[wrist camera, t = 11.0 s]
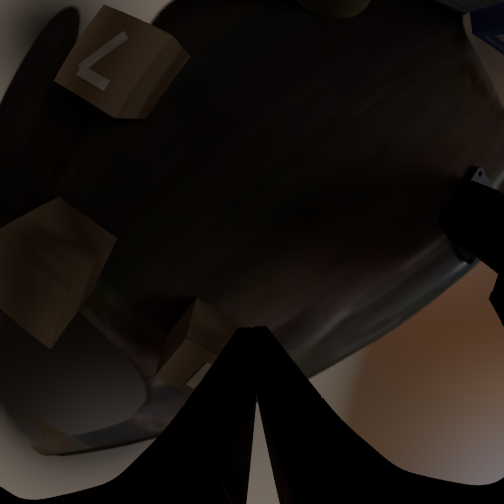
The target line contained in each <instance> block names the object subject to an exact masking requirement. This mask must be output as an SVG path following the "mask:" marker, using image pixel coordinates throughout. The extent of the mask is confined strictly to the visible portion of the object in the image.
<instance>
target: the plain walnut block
mask: <svg viewBox="0 0 504 504" xmlns="http://www.w3.org/2000/svg"><path fill="white" fill-rule="evenodd" d="M116 240H117V238H116V237H115V236H113V235H112V234H110V233H109V232H107V231H106V230H104V229H103V228H102V227H100V226H99V225H97V224H96V223H95V222H93V221H92V220H90V219H89V218H88V217H86V216H85V215H84V214H82V213H81V212H79V211H78V210H77V209H75V208H74V207H73V206H71V205H70V204H69V203H67V202H66V201H65V200H63V199H62V198H61V197H58V198H56V199H54V200H52V201H50V202H48V203H46V204H44V205H42V206H40V207H38V208H36V209H34V210H32V211H30V212H28V213H27V214H25V215H23V216H21V217H19V218H17V219H16V220H14V221H12V222H10V223H9V224H7V225H5V226H4V227H2V228H0V309H2V310H3V311H4V312H5V313H6V314H7V315H8V316H9V317H11V318H12V319H13V320H14V321H15V322H17V323H18V324H19V325H20V326H21V327H22V328H24V329H25V330H26V331H27V332H29V333H30V334H31V335H32V336H34V337H35V338H36V339H38V340H39V341H40V342H42V343H43V344H44V345H45V346H47V347H48V348H50V349H51V348H52V346H53V345H54V343H55V342H56V340H57V339H58V338H59V336H60V335H61V333H62V332H63V330H64V329H65V328H66V326H67V325H68V324H69V322H70V321H71V320H72V318H73V317H74V316H75V314H76V313H77V312H78V310H79V309H80V308H81V306H82V305H83V304H84V302H85V301H86V300H87V298H88V297H89V296H90V295H91V293H92V292H93V289H94V287H95V285H96V283H97V280H98V278H99V276H100V274H101V271H102V269H103V267H104V265H105V263H106V261H107V258H108V256H109V254H110V252H111V250H112V248H113V246H114V244H115V242H116Z"/></svg>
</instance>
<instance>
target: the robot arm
mask: <svg viewBox="0 0 504 504" xmlns="http://www.w3.org/2000/svg"><path fill="white" fill-rule="evenodd" d="M478 173H479V175H478ZM444 221H445V223H444V224H443V222H444ZM438 223H439V226H440V227H441V229H442V230H443V231H444V232H445V234H446V235H447V236H448V238H449V239H450V241H451V242H452V243H453V245H454V246H455V247H456V249H457V250H458V252H459V253H460V255H461V256H462V257H463V259H464V260H465V262H466V263H468V264H469V265H470V264H472V263H473V262H474V261H475V259H476V258H478V259H480V260H481V261H482V262H483V263H485V264H486V265H487V266H489V267H490V268H491V269H492V270H494V271H495V272H496V273H498V276H497V280H496V283H495V286H494V288H493V291H492V292H491V294H490V297H489V300H490V302H491V304H492V305H493V307H494V309H495V311H496V313H497V314H498V316H499V318H500V320H501V323H502V325H503V326H504V194H503V193H502V192H501V191H498V190H496V189H494V188H493V187H492V185H491V183H490V181H489V179H488V178H487V176H486V174H485V172H484V171H483V169H482V168H479V167H476V168H475V169H474V171H473V172H472V174H471V175H470V177H469V178H468V179H467V181H466V182H465V184H464V185H463V187H462V188H461V190H460V191H459V192H458V194H457V195H456V197H455V198H454V199H453V201H452V202H451V204H450V205H449V206H448V208H447V209H446V210H445V212H444V213H443V214H442V216H441V217H440V218H439V221H438ZM256 391H257V399H258V405H259V410H260V414H261V420H262V424H263V429H264V434H265V439H266V443H267V448H268V453H269V457H270V462H271V467H272V471H273V476H274V480H275V485H276V489H277V493H278V498H279V502H280V504H504V478H502V479H501V480H499V481H497V482H495V483H491V484H488V485H467V484H461V483H456V482H450V481H445V480H440V479H436V478H431V477H426V476H423V475H418V474H415V473H411V472H408V471H405V470H403V469H401V468H399V467H397V466H395V465H394V464H392V463H391V462H390V461H388V460H387V459H386V458H385V457H383V456H382V455H381V454H380V453H379V452H377V451H376V450H375V449H374V448H373V447H371V446H370V445H369V444H368V443H367V442H366V441H365V440H363V439H362V438H361V437H360V436H359V435H358V434H356V433H355V432H354V431H353V430H352V429H351V428H350V427H349V426H348V425H347V424H346V423H345V422H344V421H343V420H342V419H341V418H340V417H339V416H338V415H337V414H336V413H335V412H334V411H333V410H332V408H331V407H330V406H329V405H328V404H327V402H326V401H325V400H324V398H321V395H320V394H319V393H318V391H317V390H316V389H315V388H314V386H313V385H312V384H311V383H310V381H309V380H308V379H307V378H306V376H305V375H304V374H303V373H302V371H301V370H300V369H299V368H298V366H297V365H296V364H295V362H294V361H293V360H292V359H291V357H290V356H289V355H288V354H287V352H286V351H285V350H284V348H283V347H282V346H281V345H280V343H279V342H278V341H277V339H276V338H275V337H274V336H273V334H272V333H271V332H270V330H269V329H268V328H267V327H266V326H256V327H253V328H251V327H241V328H237V329H236V331H235V332H234V334H233V335H232V337H231V338H230V340H229V341H228V343H227V344H226V346H225V347H224V348H223V350H222V351H221V353H220V354H219V356H218V357H217V359H216V360H215V361H214V363H213V364H212V366H211V367H210V369H209V370H208V371H207V373H206V374H205V376H204V377H203V379H202V380H201V381H200V383H199V384H198V386H197V387H196V388H195V390H194V391H193V393H192V394H191V395H190V397H189V398H188V400H187V401H186V402H185V406H182V408H181V409H180V411H179V412H178V413H177V415H176V416H175V417H174V419H173V420H172V421H171V422H170V424H169V425H168V426H167V427H166V429H165V430H164V431H163V432H162V433H161V434H160V435H159V436H158V437H157V438H156V440H155V441H154V442H153V443H152V444H151V445H150V446H149V447H148V448H147V449H146V450H145V451H144V452H143V453H142V454H141V455H140V456H139V457H138V458H137V459H136V460H135V461H134V462H133V463H132V464H131V465H130V466H129V467H128V468H127V469H126V470H124V471H123V472H122V473H121V474H120V475H119V476H117V477H116V478H114V479H113V480H111V481H109V482H107V483H105V484H102V485H99V486H96V487H92V488H89V489H85V490H81V491H77V492H73V493H69V494H65V495H60V496H56V497H51V498H46V499H38V500H28V499H23V498H19V497H17V496H15V495H13V494H11V493H10V492H8V491H7V490H5V489H3V488H2V487H0V504H246V502H247V492H248V483H249V472H250V462H251V452H252V442H253V432H254V421H255V410H256V409H255V408H256Z"/></svg>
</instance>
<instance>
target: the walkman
mask: <svg viewBox="0 0 504 504" xmlns="http://www.w3.org/2000/svg"><path fill="white" fill-rule="evenodd" d="M470 18H471V25H472V33H473V34H474V35H475V36H477V37H478V38H480V39H482V40H483V41H484V42H486V43H487V44H489V45H491V46H492V47H493V48H495V49H496V50H498V51H499V52H500V53H502V54H503V55H504V3H500V4H496V5H492V6H489V7H485V8H482V9H479V10H476V11H473V12H470Z"/></svg>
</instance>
